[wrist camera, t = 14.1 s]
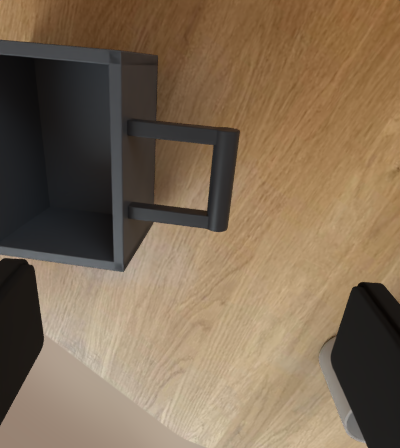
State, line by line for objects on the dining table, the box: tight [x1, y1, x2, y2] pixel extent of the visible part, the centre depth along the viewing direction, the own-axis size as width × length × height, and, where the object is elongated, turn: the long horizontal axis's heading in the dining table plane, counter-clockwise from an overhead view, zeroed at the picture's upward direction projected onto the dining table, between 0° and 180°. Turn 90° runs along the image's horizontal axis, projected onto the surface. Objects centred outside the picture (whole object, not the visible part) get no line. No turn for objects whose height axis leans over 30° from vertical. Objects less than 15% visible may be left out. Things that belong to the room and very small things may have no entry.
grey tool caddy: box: [0, 40, 240, 272], centre depth 27 cm, size 18×15×9 cm
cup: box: [319, 336, 366, 443], centre depth 39 cm, size 7×10×9 cm
